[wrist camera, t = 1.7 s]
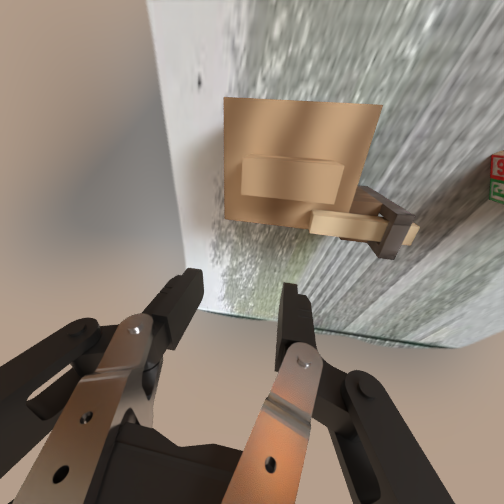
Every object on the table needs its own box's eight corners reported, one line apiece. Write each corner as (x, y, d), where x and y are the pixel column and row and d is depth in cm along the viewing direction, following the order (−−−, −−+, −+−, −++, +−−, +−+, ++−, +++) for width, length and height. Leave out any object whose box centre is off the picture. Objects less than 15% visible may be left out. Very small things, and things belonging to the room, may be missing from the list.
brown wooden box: (390, 118, 25) (472, 101, 14) (356, 216, 31) (393, 259, 20) (243, 109, 27) (211, 89, 16) (240, 203, 33) (216, 236, 22)
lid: (372, 108, 19) (414, 93, 13) (337, 225, 25) (354, 254, 19) (230, 101, 21) (203, 84, 14) (229, 212, 27) (210, 236, 20)
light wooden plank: (409, 219, 21) (420, 227, 19) (400, 237, 22) (410, 245, 20) (311, 209, 22) (313, 215, 20) (308, 226, 23) (309, 233, 21)
